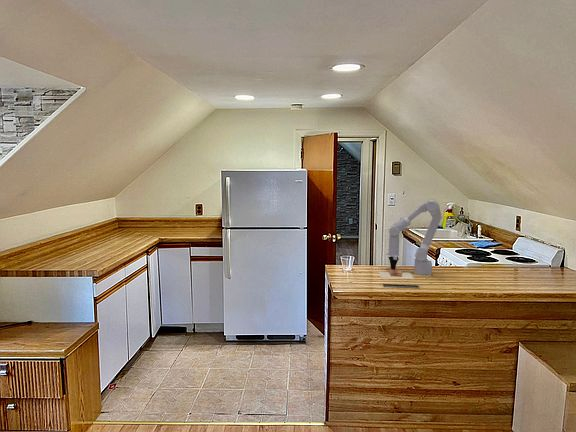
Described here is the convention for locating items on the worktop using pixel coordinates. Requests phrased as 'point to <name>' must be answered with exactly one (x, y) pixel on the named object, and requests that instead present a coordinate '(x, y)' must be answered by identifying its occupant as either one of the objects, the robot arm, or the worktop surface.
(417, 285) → the mat
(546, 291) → the worktop surface
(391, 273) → the block
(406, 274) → the board
